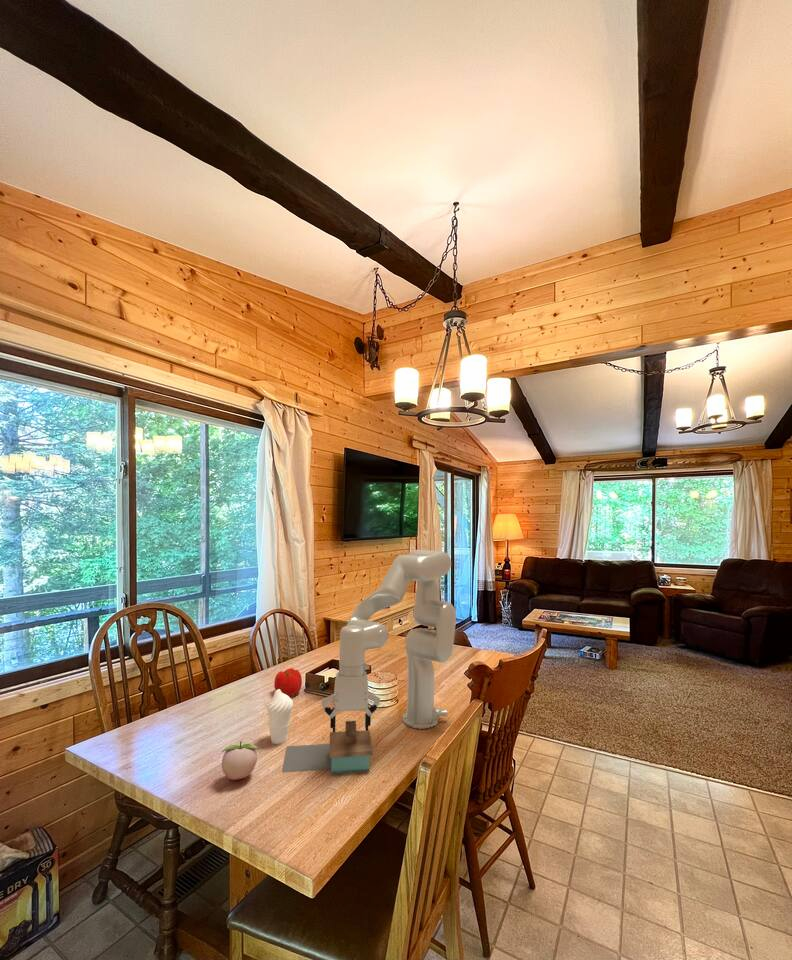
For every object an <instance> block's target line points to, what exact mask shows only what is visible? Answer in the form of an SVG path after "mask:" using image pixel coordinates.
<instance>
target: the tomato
mask: <svg viewBox="0 0 792 960" xmlns="http://www.w3.org/2000/svg"><path fill="white" fill-rule="evenodd" d="M302 678H303V677H302V675H301V672H300V671H299V670H298V669H295V668H293V667H292V668H286V669H285V670H284V671H283V670H282V671H278V673H277V674H276V675H275V678H274V683H273V684H274V692H275V691H276V690H278V689H280V690H281V692H282V693H284V694H286V695H288V696H289V697H292V696H294V695H296V694H298V693H299V692H300V691H301V689H302V685H303V681H302V680H303V679H302Z"/></svg>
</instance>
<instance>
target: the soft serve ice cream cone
mask: <svg viewBox="0 0 792 960" xmlns="http://www.w3.org/2000/svg"><path fill="white" fill-rule="evenodd" d="M293 707H294V702H293V699H292V698H291V696H288V695H286V694H284V693H282V692H281V690H280V689H278V690H276V691H275V690H274V693H273V696H272V698H270V700H269V701H267V705H266V712H267V716H268V727H269V733H270V740H271V744H273V745H279V744H283V743H285V742H286V741H287V740H286V739H287V736H288V735H287V734H288V731H289V727H290V723H291V722H290V720H291V713H292V709H293Z"/></svg>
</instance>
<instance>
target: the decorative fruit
mask: <svg viewBox="0 0 792 960" xmlns="http://www.w3.org/2000/svg"><path fill="white" fill-rule="evenodd" d="M257 750H259V748H258V747H257V745H255V744H253V743H242V741H240V742H239V745H238V744H230V745H228V746H227V747H225V748H224V749H223V750H222V751H221V753H223V752H224V754H223V756H222V759H221V769H222V773H223V775H225V776H226V778H228V779H229V780H232V781H240V780H242V779H245V778H247V777H249V775H250V774H251V773H252V772H253V770H254V769H255V767H256V765H257V761H258V754H257Z"/></svg>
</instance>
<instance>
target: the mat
mask: <svg viewBox="0 0 792 960" xmlns="http://www.w3.org/2000/svg"><path fill="white" fill-rule="evenodd" d="M324 770H331V758H330V743H319V744H307V745H306V744H304V745H287V746H286V748H285V754H284V759H283V764H282V769H281V773H295V772H308V771H309V772H311V771H324Z"/></svg>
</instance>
